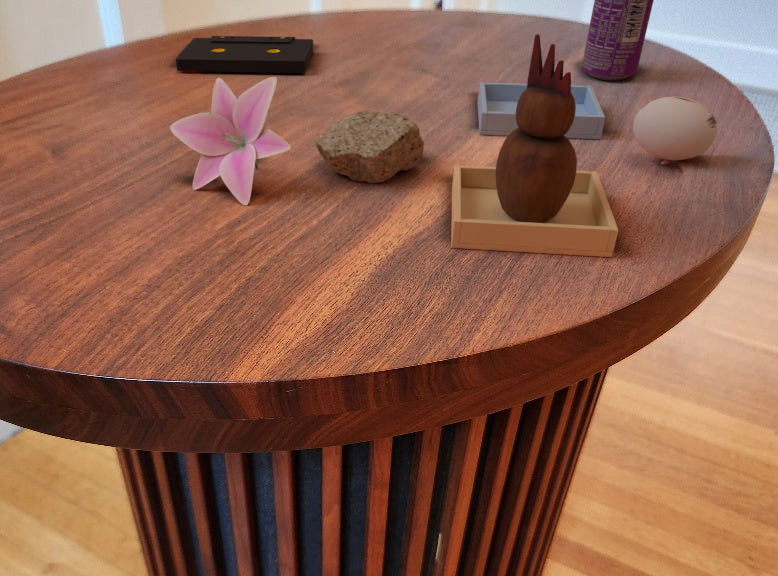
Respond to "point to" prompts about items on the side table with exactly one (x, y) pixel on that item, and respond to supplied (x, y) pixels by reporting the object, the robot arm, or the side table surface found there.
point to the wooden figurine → (539, 145)
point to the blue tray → (502, 102)
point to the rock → (371, 145)
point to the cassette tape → (246, 54)
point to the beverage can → (616, 38)
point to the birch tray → (503, 233)
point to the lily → (232, 137)
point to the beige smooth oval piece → (674, 128)
